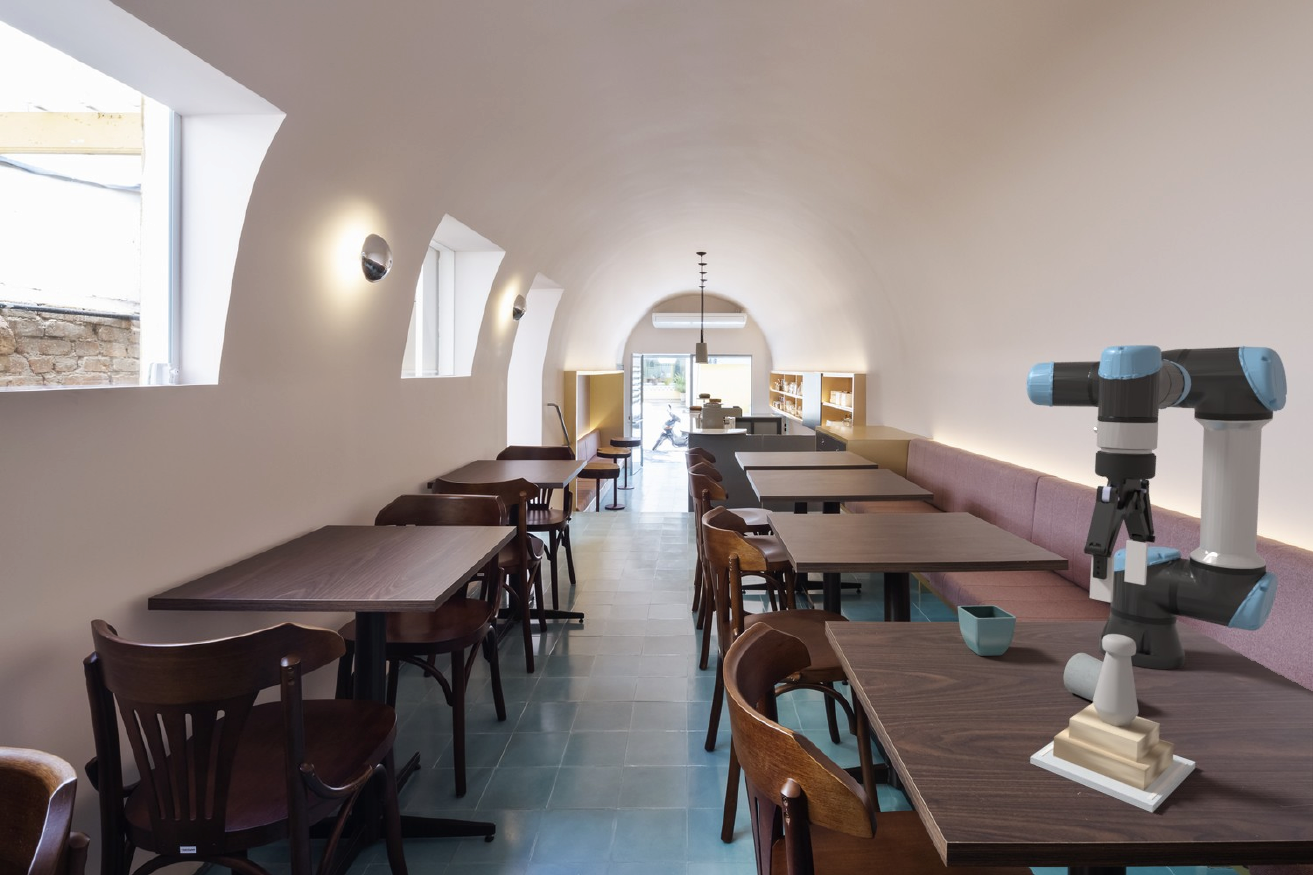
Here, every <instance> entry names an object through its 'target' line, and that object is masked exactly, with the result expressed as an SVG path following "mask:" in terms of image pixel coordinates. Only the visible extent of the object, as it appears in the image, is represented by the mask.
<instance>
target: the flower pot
mask: <svg viewBox="0 0 1313 875" xmlns="http://www.w3.org/2000/svg"><path fill="white" fill-rule="evenodd" d="M957 613H958V625H959V629H960V633H961V636H962V638H963V641H964V642H965V644H966V646H967V647H968V648H969V649H970V650H972V652H974V653H975V654H977V655H978V656H980V657H983V656H1003V654H1005V653H1006V651H1008V648H1010V645H1011V643H1012V641H1013V639H1014V633H1015V628H1016V622H1017V617H1016V616H1015V615H1014V614H1012V613H1010V612H1008V611H1006V610H1004V609H1003V608H1001V607H1000V606H998V605H994V604H993V605H992V604H991V605H984V604H983V605H958V606H957Z"/></svg>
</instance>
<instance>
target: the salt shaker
mask: <svg viewBox="0 0 1313 875" xmlns="http://www.w3.org/2000/svg"><path fill="white" fill-rule="evenodd" d="M1102 647H1103V650H1105V651H1106V654H1104V659H1103V665H1102V669H1101V672H1100V676H1099V679H1098V683H1097V686H1096V690H1095V693H1094V697H1093V701H1092V703H1094V707H1095V709H1096V711H1097V713H1098V716H1099V717H1100V719H1101V720H1102V722H1104V723H1107V724H1110V725H1113V726H1115V727H1129V725H1130V724H1131V722H1132V721H1133V720H1134V719H1135V717H1136V716H1138V715H1139V705H1138V701H1137V700H1138V699H1137V692H1136V684H1135V676H1134V671H1133V665H1132V661H1131V656H1133V655H1135V653H1136V644H1135V641H1134V640H1133V639H1131V638H1129V637H1127V636H1124V635H1118V634H1108V635H1106V636H1104V637H1103V640H1102Z"/></svg>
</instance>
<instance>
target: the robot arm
mask: <svg viewBox="0 0 1313 875" xmlns="http://www.w3.org/2000/svg"><path fill="white" fill-rule="evenodd" d="M1287 392H1288V386H1287V376H1286V371H1285V367H1284V364H1283V361H1282V359H1281V357H1280V354H1278V352H1277V351H1276V350H1275V349H1272V348H1270V347H1266V346H1264V347H1263V346H1261V347H1260V346H1245V345H1242V346H1232V347H1231V346H1228V347H1211V348H1210V347H1208V348H1207V347H1206V348H1201V347H1200V348H1175V349H1168V350H1162V349H1161V348H1160V347H1159V346H1158V345H1153V344H1152V345H1149V344H1148V345H1146V344H1145V345H1143V344H1141V345H1135V344H1134V345H1114V346H1111V345H1110V346H1107V347H1106V348H1105V347H1104V349H1103V350H1102V351H1101V353H1100V360H1097V361H1096V360H1095V361H1094V360H1093V361H1060V362H1059V361H1058V362H1057V361H1050V362H1038V363H1036V364H1034V365H1033V366H1032V367H1031V368H1030V369H1029V372H1028V375H1027V378H1026V393H1027V397H1028V399H1029V401H1031V402H1032V404H1034V405H1036V406H1044V407H1045V406H1047V407H1052V408H1053V407H1084V408H1085V407H1088V408H1089V407H1093V408H1094V407H1095V408H1097V426H1095V427H1094V428H1093V432H1094V433H1095V434H1096V446H1097V448H1099V450H1097V452H1095V462H1094V472H1095V473H1094V474H1096V475H1097V476H1099V477H1102V478H1103V477H1104V478H1106V479H1107V482H1106V483H1107V484H1106V486H1104V485H1098V486H1097V488H1096V496H1095V497H1096V498H1095V503H1094V508H1093V513H1092V517H1091V520H1090V525H1089V529H1088V533H1087V534H1088V535H1087V539H1086V542H1085V545H1084V548H1083V552H1084V554H1086V555H1091V558H1090V559H1091V561H1090V563H1091V564H1090V578H1089V579H1090V582H1089V599H1093V600H1097V601H1102V602H1106V603H1110V609H1109V610H1110V612H1109V616H1108V619H1107V621H1106V623H1105V626H1103V630H1102V632H1101V634H1100V636H1099V639H1098V650H1099V651H1100V652H1101V653H1102V654H1103V655H1105V654H1106V651H1105V650H1103V647H1102V640H1103V637H1104V636H1106V635H1108V634H1118V635H1124V636H1127V637H1129V638H1131V639H1133V640H1134V641H1135V644H1136V653H1135V655H1133V656H1131V661H1132V666H1137V667H1142V668H1147V669H1149V668H1150V669H1157V670H1173V669H1178V668H1179V669H1180V668H1181V667H1184V666H1185V662H1186V660H1185V659H1186V653H1185V650H1184V647H1183V643H1182V640H1181V636H1180V634H1179V631H1178V626H1177V619H1178V618H1177V616H1178V617H1183V618H1187V619H1192V620H1197V621H1201V622H1206V623H1211V624H1215V625H1219V626H1224V627H1227V628H1228V629H1240V630H1244V631H1250V632H1251V631H1252V632H1253V631H1257V630H1259V629H1261V628H1262V627H1264V625H1265V623H1266V622H1267V619H1268V618H1269V616H1270V614H1271V611H1272V610H1273V609H1272V608H1273V605H1274V601H1275V599H1276V596H1277V590H1278V585H1279V584H1278V575H1277V574H1276V573H1273V572H1271V571H1267V562H1266V560H1265V558H1264V557H1263V556H1261V554H1259V553H1258V552H1257V539H1258V537H1257V536H1258V521H1259V520H1258V519H1259V518H1258V515H1259V494H1260V474H1261V473H1260V471H1261V454H1262V453H1261V450H1262V433H1263V432H1262V431H1263V430H1262V429H1263V428H1264V427H1265V426H1266V425H1267V424H1269V423H1270V422H1272V421H1273V419H1274V412H1277V411H1281V410H1283V409H1284V408H1285V405H1286V403H1287V395H1288V393H1287ZM1168 408H1178V409H1179V408H1180V409H1181V408H1182V409H1194V420H1195V421H1196V422H1198V423H1199V424H1200V425H1201V426H1202V427H1203V437H1202V438H1203V440H1202V441H1203V442H1202V443H1203V444H1202V465H1201V466H1202V468H1201V470H1202V471H1201V474H1202V475H1201V499H1200V526H1199V527H1200V531H1199V546H1198V547H1196V549H1194V550H1193V551H1191V552H1189V559H1188V558H1183V555H1182V554H1181V551H1180V550H1179V549H1177V548H1172V547H1167V546H1166V547H1165V546H1149V543H1152V544H1153V543H1154V544H1155V542H1156V535H1154V534H1155V530H1154V522H1153V521H1154V520H1153V514H1152V507H1151V506H1152V505H1151V498H1150V480H1151V479H1154V478H1155V476H1156V471H1157V470H1156V469H1157V455H1156V454H1155V453H1153V451H1154V450H1156V449H1158V440H1159V439H1158V438H1159V436H1158V435H1159V411H1160V410H1165V409H1168ZM1123 521H1124V524H1125V528H1126V532H1127V534H1128V538H1129V539H1127V540H1126V542H1125V545H1126V546H1125V547H1124V548H1121V549H1119V550H1117V551H1116V552H1115V553H1114V555H1113V552H1114V549H1115V545H1116V542H1117V540H1118V536H1119V534H1120V530H1121V527H1122V525H1123ZM1112 555H1113V556H1112Z"/></svg>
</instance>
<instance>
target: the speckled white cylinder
mask: <svg viewBox="0 0 1313 875" xmlns="http://www.w3.org/2000/svg"><path fill="white" fill-rule="evenodd" d="M1103 662H1104V660H1103V661H1102V660H1100V659H1098V658H1096V657H1094V656H1092V655H1090V654H1088V653H1085V652H1078V653H1076V654H1074V655H1072V656H1071V657H1070V658H1069V660H1068V661H1067V663H1066V665H1065V668H1064V670H1063V672H1064V673H1063V684H1064V687H1065V688H1066V690H1067V691H1069V692H1070V693H1073V694H1074V695H1077V696H1079V697H1081V698H1084V699H1086V700H1089V701H1091V702H1093V697H1094V693H1095V690H1096V686H1097V683H1098V679H1099V676H1100V672H1101V669H1102V665H1103Z"/></svg>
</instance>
